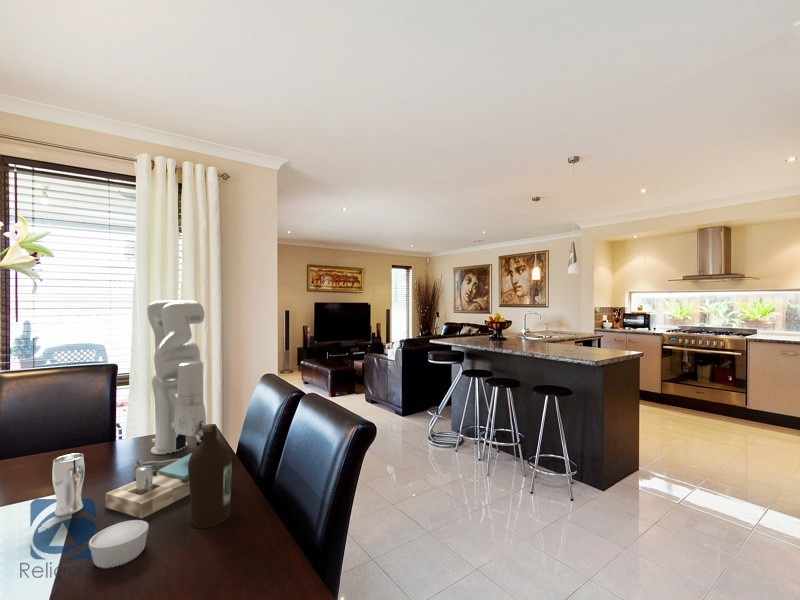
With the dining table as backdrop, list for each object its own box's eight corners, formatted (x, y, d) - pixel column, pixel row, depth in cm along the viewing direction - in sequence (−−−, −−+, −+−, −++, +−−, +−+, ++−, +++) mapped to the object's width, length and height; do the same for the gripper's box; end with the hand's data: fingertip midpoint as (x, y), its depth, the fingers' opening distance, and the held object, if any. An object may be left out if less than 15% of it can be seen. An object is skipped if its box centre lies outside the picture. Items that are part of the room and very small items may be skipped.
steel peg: (133, 504, 112) (132, 470, 112) (146, 498, 116) (146, 464, 116) (142, 507, 111) (141, 472, 111) (155, 500, 114) (155, 466, 114)
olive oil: (183, 533, 97) (182, 433, 98) (194, 511, 108) (193, 421, 108) (229, 526, 100) (227, 429, 100) (235, 505, 110) (234, 418, 111)
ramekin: (86, 556, 89) (85, 533, 89) (143, 535, 97) (142, 514, 97) (92, 580, 81) (92, 555, 81) (154, 555, 89) (153, 532, 89)
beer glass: (91, 505, 112) (90, 454, 112) (64, 518, 105) (63, 463, 105) (73, 503, 114) (72, 452, 114) (46, 515, 107) (45, 461, 107)
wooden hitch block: (105, 507, 111) (105, 489, 111) (176, 475, 131) (176, 460, 131) (142, 518, 104) (142, 499, 105) (211, 483, 125) (210, 467, 125)
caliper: (134, 481, 128) (133, 462, 128) (132, 480, 129) (132, 461, 129) (194, 459, 145) (194, 443, 145) (193, 459, 146) (192, 442, 146)
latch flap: (158, 473, 123) (158, 470, 123) (191, 455, 134) (191, 452, 134) (184, 479, 119) (184, 476, 118) (216, 460, 129) (216, 457, 129)
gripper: (162, 399, 128) (162, 450, 128) (199, 405, 121) (199, 459, 121) (183, 394, 135) (183, 442, 135) (219, 399, 128) (219, 450, 128)
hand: (191, 450), depth 128 cm, fingers open, 9 cm apart
